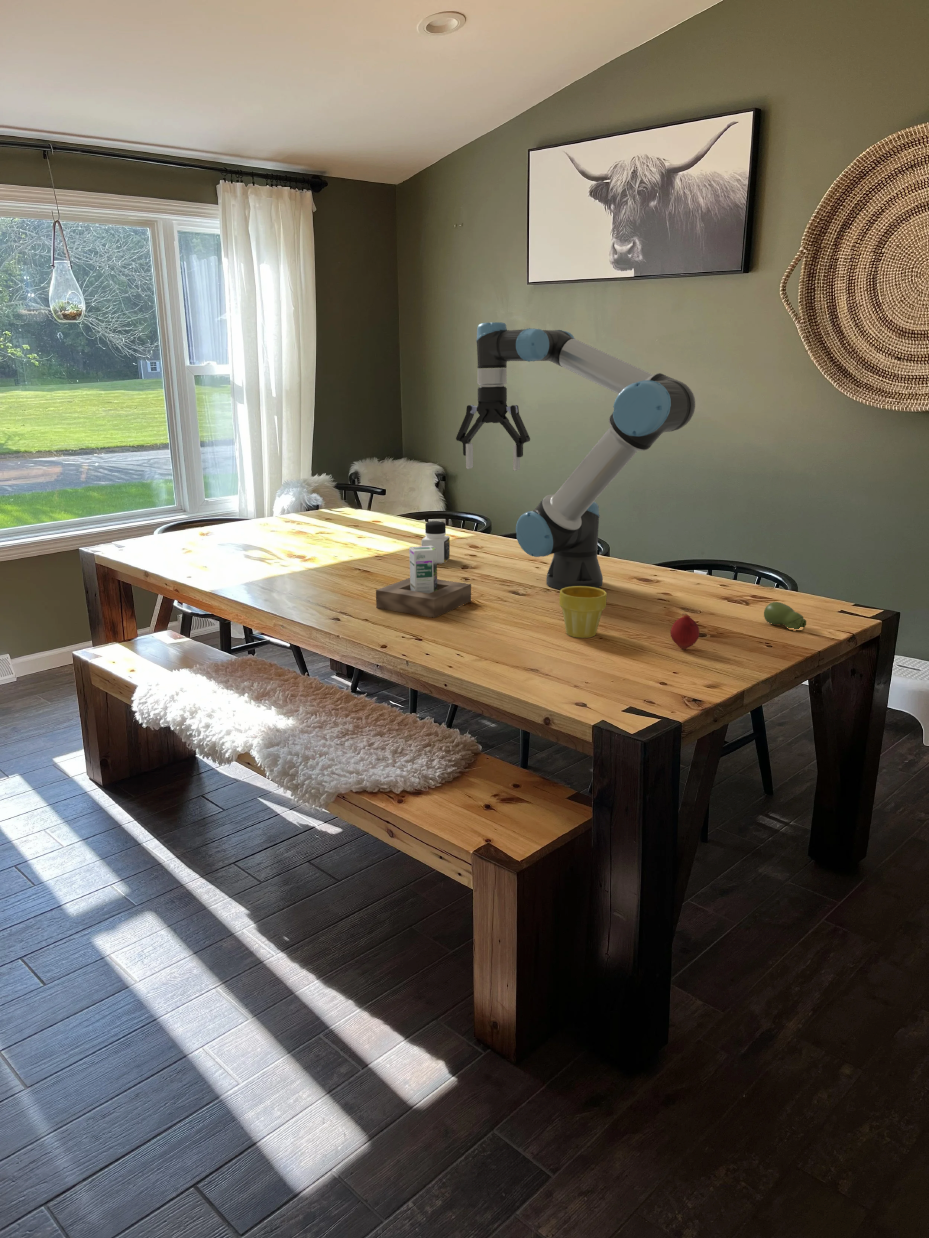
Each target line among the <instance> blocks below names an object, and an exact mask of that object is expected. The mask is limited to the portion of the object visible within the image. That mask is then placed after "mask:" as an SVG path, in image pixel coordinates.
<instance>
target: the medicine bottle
mask: <svg viewBox="0 0 929 1238" xmlns="http://www.w3.org/2000/svg"><path fill="white" fill-rule="evenodd" d="M446 527H447V526H446V523H445V522H444V521H441V520H429V521H427V522H425V533H424V534H425V536H424V537H423V538H422V539H421V542H420V543H421V546H433V547H434V548H435V549H436V550H437V564H442V563H444V564H446V563H447V562H448V560H450V557H451V556H450V555H451V554H450V553H451V552H450V549H451V548H450V540H451V539H450V536H449V535H446Z"/></svg>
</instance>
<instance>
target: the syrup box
mask: <svg viewBox="0 0 929 1238" xmlns="http://www.w3.org/2000/svg"><path fill="white" fill-rule="evenodd" d="M408 552H409V553H408V554H409V578H410V590H411V591H417V592H423V593H432V592H434V591H437V579H438V563H437V550H436V549H435V548H434V547H433V546H422V545H421V546H410V547H409V550H408Z"/></svg>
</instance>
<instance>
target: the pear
mask: <svg viewBox="0 0 929 1238" xmlns="http://www.w3.org/2000/svg"><path fill="white" fill-rule="evenodd" d="M763 617H764V619H765V621H766V623H768V622H769V623H768V624H770V623H772V624H781V625H784V626H785V628H786V627H788V628H794V629H799V628H800V627H804V628H805V627H806V626H807V620H806V619H805V618H804V616H803V615H802V614H801V613H799V612H796V611H795V610H794V609H793V608H792V607H791V606H790V605H788V604H786V603H782V602H779V601H773V602H770V603H769V604H767V606H765V608H764V612H763ZM772 624H771V625H772ZM781 625H780V626H781Z"/></svg>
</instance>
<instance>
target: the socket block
mask: <svg viewBox="0 0 929 1238" xmlns="http://www.w3.org/2000/svg"><path fill="white" fill-rule="evenodd" d="M375 600H376V601H375V603H376V604H375V606H376V609H381V610H388V611H393V612H399V613H406V614H411V615H416V616H422V617H428V618H432V617H433V619H435V618H437V617H440V616H442V615H444V614H447V613H448V612H450V610H451V611H453V610H455V609H457V607H458V608H460V607H462V606H464V605H466V603H467V604H468V602H469V603H471V602H472V584H471V583H465V582H460V581H459V582H457V581H452V580H446V579H438V578H437V591H434V592H432V593H423V592H417V591H411V590H410V577H408V578H406V579H403V580H400V581H398V582H397V581H396V582H394V583H391V584H389V585H386V586H384V587H381V588H380V587H379V588H378V589H375ZM470 601H471V602H470ZM463 604H464V605H463ZM459 606H460V607H459Z"/></svg>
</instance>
